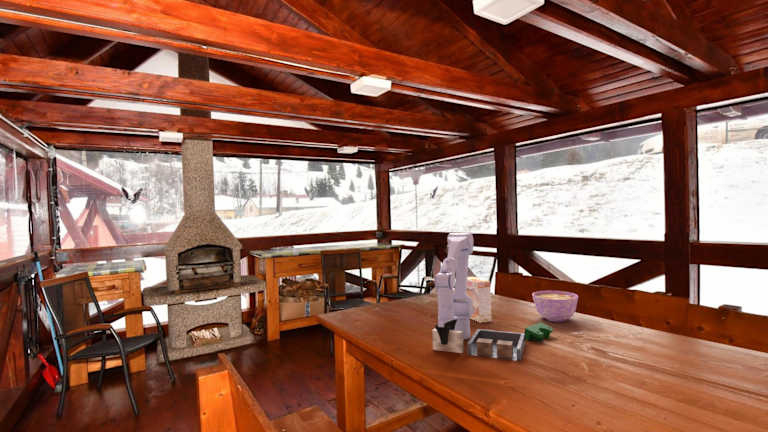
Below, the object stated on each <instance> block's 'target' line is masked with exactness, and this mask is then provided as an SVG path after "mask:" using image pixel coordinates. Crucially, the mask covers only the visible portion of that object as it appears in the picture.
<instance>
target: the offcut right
mask: <svg viewBox="0 0 768 432" xmlns="http://www.w3.org/2000/svg"><path fill="white" fill-rule="evenodd" d="M512 356H513V342H511V341H501V340H498V342H497V357H505V358H512Z"/></svg>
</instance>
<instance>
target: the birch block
mask: <svg viewBox="0 0 768 432" xmlns="http://www.w3.org/2000/svg"><path fill="white" fill-rule="evenodd" d="M431 331H432V332H431V333H432V350H434V351H440V352H441V351H442V352H451V353H457V354H462V353H463V352H464V350H465V349H464V339H463V331H456V330H450V331H449V336H448V344H447V345H443V344H441V341H440V337H439V334H438V332H437V330H436V328H433V329H432V330H431Z"/></svg>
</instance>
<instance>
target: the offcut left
mask: <svg viewBox="0 0 768 432" xmlns="http://www.w3.org/2000/svg"><path fill="white" fill-rule="evenodd" d="M492 353H493V340H492V339H482V338H479V339H478V340H477V354H480V355H489V356H491V355H492Z"/></svg>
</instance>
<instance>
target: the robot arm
mask: <svg viewBox="0 0 768 432" xmlns="http://www.w3.org/2000/svg"><path fill="white" fill-rule="evenodd" d="M446 239H447V240H446V241H447V245H448V254H447V257H445V258H444V259H443V262H442V264H441V267H440V270H439V272H438V273H437V274H435V276H434V287H435V292H436V294H437V307H438V308H437V309H438V311H437V312H438V316H437V318H438V319H437V323H436V324H435V325H434V327H435V328H436V330H437V332H438V334H439V337H440V341H441V344H443V345H447V344H448V336H449V331H450V330H456V331H463V340H469V339H471V325H470V323H471V320H470V317H471V316H472V315H473V300H472V298H471V297H470V296H469V295H467V277H468V274H469V273H468V270H469V258H470V257H469V256H470V255H471V254H473V253H474V236H473V233H471V232H450V233H449V234H448V235H447V238H446ZM463 301H467V302H463Z"/></svg>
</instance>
